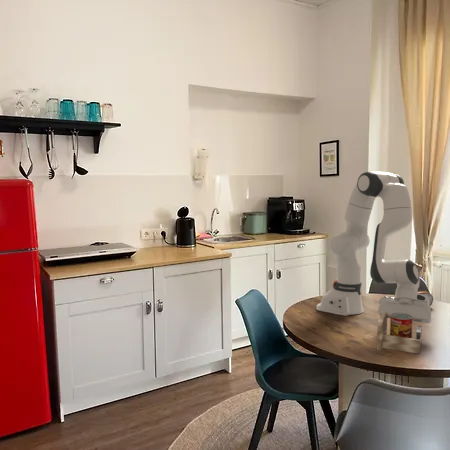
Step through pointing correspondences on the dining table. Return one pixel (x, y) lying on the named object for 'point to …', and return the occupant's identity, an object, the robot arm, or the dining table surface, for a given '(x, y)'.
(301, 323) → the dining table surface
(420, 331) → the bookend
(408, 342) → the shelf wall
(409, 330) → the canned food
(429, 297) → the tin
